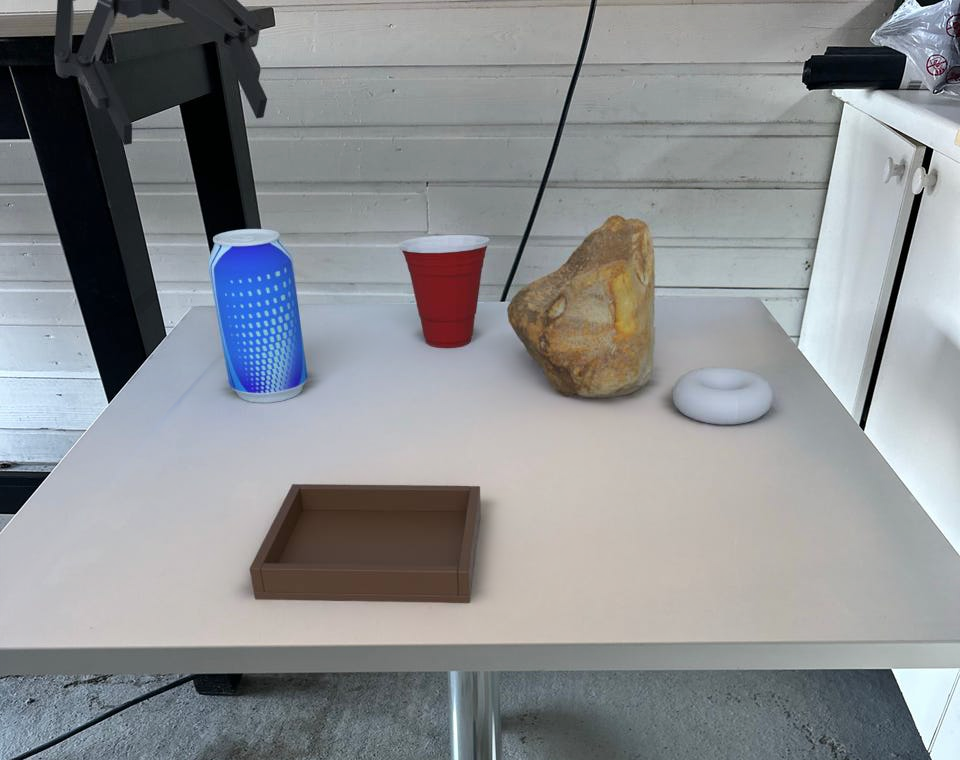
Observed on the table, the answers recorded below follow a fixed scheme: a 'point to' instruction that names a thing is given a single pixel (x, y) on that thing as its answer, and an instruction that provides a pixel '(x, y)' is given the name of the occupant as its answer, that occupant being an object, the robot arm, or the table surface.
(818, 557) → the table surface
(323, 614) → the table surface
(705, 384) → the donut
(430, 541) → the tray
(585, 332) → the rough brown rock
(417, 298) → the plastic cup
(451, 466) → the table surface
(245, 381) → the beer can
